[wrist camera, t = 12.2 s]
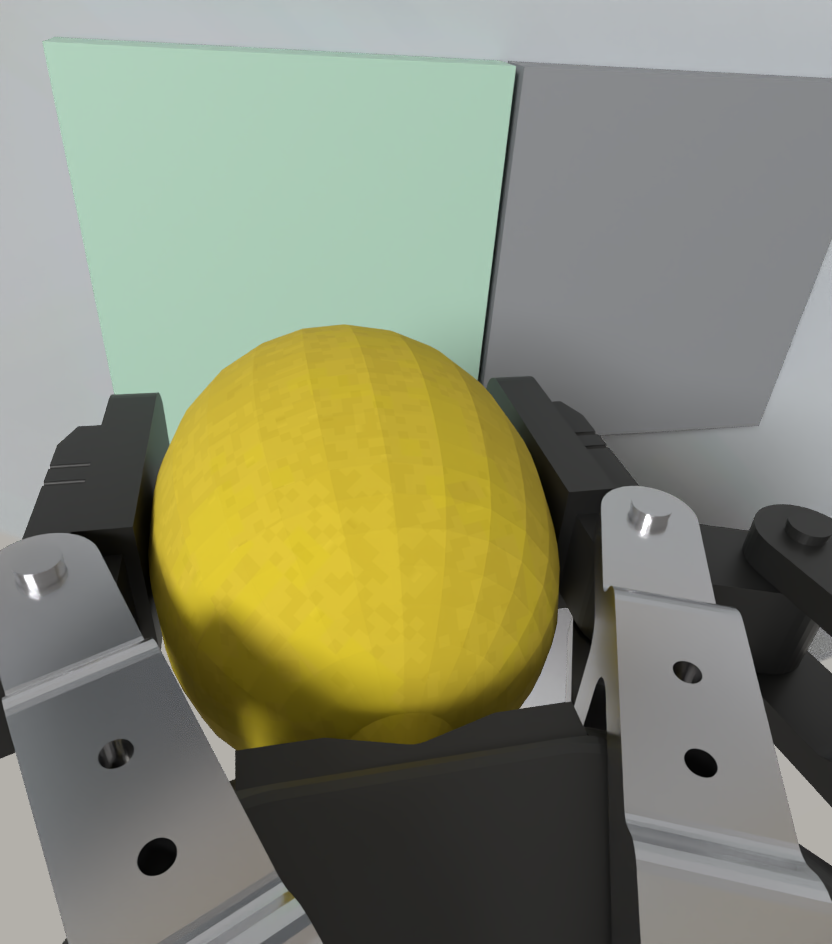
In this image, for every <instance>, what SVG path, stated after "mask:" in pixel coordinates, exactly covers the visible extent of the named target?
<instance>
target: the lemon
mask: <svg viewBox="0 0 832 944" xmlns="http://www.w3.org/2000/svg"><path fill="white" fill-rule="evenodd" d="M148 562H149V575H150V582H151V589H152V594H153V598H154V602H155V607H156V611H157V615H158V619H159V623H160V628H161V632H162V636H163V640H164V644H165V648H166V651H167V655H168V657H169V660H170V663H171V666H172V669H173V671H174V673H175V675H176V677H177V679H178V681H179V683H180V685H181V687H182V689H183V691H184V692H185V694H186V695H187V697H188V698H189V699H190V701H191V702H192V704H193V705H194V707H195V708H196V710H197V711H198V712H199V714H200V715H201V717H202V718H203V719H204V721H205V722H206V723H207V724H208V725H209V727H210V728H211V729H212V730H213V731H214V733H215V734H216V735H217V736H218V737H219V738H221V739H222V740H223V741H225V742H227V744H229V745H230V746H232V747H233V748H234V749H236V750H243V749H250V748H256V747H263V746H270V745H277V744H284V743H291V742H297V741H304V740H311V739H318V738H336V739H348V740H360V741H372V742H384V743H397V744H419V743H422V742H425V741H428V740H430V739H433V738H435V737H437V736H440V735H442V734H445V733H447V732H449V731H452V730H454V729H457V728H459V727H461V726H464V725H466V724H469V723H471V722H474V721H476V720H478V719H481V718H483V717H486V716H488V715H490V714H493V713H495V712H502V711H509V710H516V709H519V708H520V707H521V706H522V704H523V703H524V701H525V700H526V699H527V697H528V696H529V694H530V693H531V692H532V690H533V688H534V686H535V684H536V682H537V680H538V678H539V676H540V674H541V671H542V669H543V666H544V664H545V661H546V658H547V656H548V653H549V650H550V648H551V645H552V642H553V638H554V634H555V630H556V626H557V616H558V595H559V572H560V566H559V556H558V546H557V541H556V535H555V530H554V526H553V522H552V518H551V515H550V511H549V507H548V504H547V501H546V498H545V495H544V491H543V488H542V485H541V482H540V478H539V475H538V472H537V470H536V467H535V464H534V462H533V459H532V456H531V454H530V452H529V450H528V448H527V446H526V444H525V442H524V441H523V439H522V438H521V436H520V435H519V433H518V432H517V430H516V429H515V427H514V426H513V424H512V423H511V422H510V420H509V419H508V417H507V416H506V415H505V413H504V412H503V410H502V409H501V408H500V406H499V405H498V403H497V402H496V401H495V399H494V398H493V396H492V395H491V394H490V393H489V392H488V391H487V389H486V388H485V387H484V386H483V385H482V384H481V383H480V382H479V381H477V380H476V379H475V378H474V377H473V376H471V375H470V374H469V373H467V372H466V371H465V370H463V369H462V368H461V367H460V366H458V365H457V364H456V363H454V362H453V361H452V360H450V359H449V358H448V357H446V356H445V355H444V354H443V353H441V352H440V351H438V350H437V349H435V348H433V347H431V346H429V345H426V344H424V343H421V342H419V341H416V340H414V339H411V338H409V337H406V336H404V335H401V334H399V333H396V332H393V331H390V330H384V329H377V328H369V327H361V326H354V325H346V324H342V325H332V326H323V327H313V328H303V329H300V330H297V331H294V332H292V333H289V334H286V335H283V336H281V337H278V338H275V339H272V340H270V341H267V342H264V343H262V344H260V345H259V346H257V347H256V348H254V349H253V350H251V351H250V352H248V353H247V354H245V355H243V356H242V357H240V358H239V359H237V360H236V361H234V362H233V363H231V364H230V365H228V366H227V367H225V368H224V369H222V370H221V371H220V373H219V374H218V375H217V376H216V377H215V378H214V379H213V380H212V382H211V383H210V384H209V385H208V386H207V387H206V388H205V389H204V391H203V392H202V393H201V394H200V395H199V396H198V397H197V398H196V400H195V401H194V402H193V403H192V404H191V406H190V407H189V408H188V409H187V410H186V412H185V414H184V416H183V418H182V420H181V422H180V424H179V426H178V428H177V430H176V432H175V435H174V437H173V439H172V441H171V443H170V445H169V448H168V450H167V452H166V454H165V456H164V459H163V461H162V463H161V466H160V469H159V472H158V475H157V479H156V484H155V489H154V495H153V504H152V513H151V522H150V533H149V547H148Z"/></svg>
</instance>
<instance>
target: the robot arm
mask: <svg viewBox="0 0 832 944" xmlns="http://www.w3.org/2000/svg"><path fill="white" fill-rule="evenodd" d="M486 389H487V391H488V392H489V393H490V394H491V395H492V396H493V398H494V399H495V401H496V402H497V403H498V405H499V406H500V408H501V409H502V410H503V412H504V413H505V415H506V416H507V417H508V419H509V420H510V422H511V423H512V424H513V426H514V427H515V429H516V430H517V432H518V433H519V435H520V436H521V438H522V439H523V441H524V442H525V444H526V446H527V448H528V450H529V452H530V454H531V456H532V459H533V462H534V464H535V467H536V470H537V472H538V475H539V478H540V482H541V485H542V488H543V491H544V495H545V498H546V501H547V504H548V507H549V511H550V515H551V518H552V522H553V526H554V530H555V535H556V541H557V546H558V556H559V566H560V572H559V595H558V609H560V608H568V609H569V611H570V612H571V614H572V619H571V623H570V626H569V630H568V636H567V665H566V696H565V702H564V703H557V704H550V705H543V706H536V707H530V708H523V709H516V710H509V711H502V712H495V713H493V714H490V715H488V716H486V717H483V718H481V719H478V720H476V721H474V722H471V723H469V724H466V725H464V726H461V727H459V728H457V729H454V730H452V731H449V732H447V733H445V734H442V735H440V736H437V737H435V738H433V739H430V740H428V741H425V742H422V743H419V744H397V743H384V742H372V741H360V740H348V739H336V738H318V739H311V740H304V741H297V742H291V743H284V744H277V745H270V746H263V747H256V748H250V749H243V750H236V751H235V757H236V759H235V761H236V762H235V766H236V767H235V769H236V771H235V776H236V778H235V780H232V781H229V780H228V778H227V776H226V774H225V773H224V771H223V769H222V767H221V765H220V763H219V761H218V759H217V757H216V755H215V753H214V751H213V750H212V748H211V746H210V744H209V742H208V740H207V738H206V736H205V734H204V732H203V730H202V729H201V727H200V725H199V723H198V721H197V719H196V717H195V715H194V713H193V711H192V709H191V707H190V706H189V704H188V702H187V700H186V698H185V696H184V694H183V692H182V690H181V688H180V686H179V684H178V683H177V681H176V679H175V677H174V675H173V673H172V671H171V669H170V667H169V665H168V663H167V661H166V660H165V658H164V656H163V654H162V652H161V643H162V632H161V628H160V623H159V619H158V615H157V611H156V607H155V602H154V598H153V594H152V589H151V582H150V575H149V562H148V547H149V533H150V522H151V513H152V504H153V495H154V489H155V484H156V479H157V475H158V472H159V469H160V466H161V463H162V461H163V459H164V456H165V454H166V452H167V450H168V448H169V445H170V444H169V438H168V432H167V425H166V419H165V413H164V408H163V402H162V398H161V395H160V393H159V392H157V393H136V394H114V395H111V396H110V398H109V401H108V404H107V408H106V411H105V415H104V418H103V422H102V425H97V426H79V427H77V428H76V429H75V430H74V431H73V432H72V433H70V434H69V435H68V436H67V437H66V438H65V439H64V440H62V441H61V442H60V443H59V444H58V445H57V448H56V450H55V453H54V456H53V458H52V461H51V464H50V469H48V472H47V474H46V477H45V480H44V486H42V488H41V490H40V493H39V496H38V498H37V501H36V504H35V506H34V509H33V512H32V514H31V517H30V520H29V522H28V525H27V528H26V531H25V533H24V536H23V539H22V540H20V541H17V542H15V543H13V544H11V545H9V546H7V547H5V548H4V549H2V550H0V758H3V757H5V756H8V755H10V754H13V753H15V752H16V756H17V759H18V763H19V766H20V770H21V774H22V777H23V781H24V785H25V788H26V792H27V795H28V799H29V802H30V806H31V810H32V814H33V817H34V821H35V824H36V828H37V831H38V835H39V839H40V842H41V846H42V850H43V853H44V857H45V860H46V864H47V868H48V871H49V875H50V878H51V882H52V886H53V889H54V893H55V897H56V900H57V904H58V907H59V911H60V915H61V919H62V922H63V926H64V929H65V933H66V937H67V938H66V939H65V941H64V942H63V944H832V866H831V865H830V864H828V863H827V862H825V861H824V860H822V859H821V858H819V857H818V856H816V855H815V854H813V853H812V852H810V851H809V850H807V849H806V848H804V847H803V846H801V845H800V844H798V840H797V836H796V832H795V829H794V824H793V820H792V816H791V813H790V808H789V804H788V800H787V796H786V792H785V788H784V784H783V780H782V776H781V772H780V768H779V764H778V760H777V756H776V752H775V748H774V745H775V746H776V747H777V748H778V749H779V750H780V751H781V752H782V753H783V754H784V756H785V757H786V758H787V759H788V760H789V761H790V762H791V763H792V764H793V765H794V766H795V768H796V769H797V770H798V771H799V772H800V773H801V774H802V775H803V776H804V777H805V778H806V780H808V782H809V783H810V784H811V785H812V786H813V787H814V788H815V789H816V791H817V792H818V793H819V794H820V795H821V796H822V797H823V798H824V799H825V800H826V801H827V803H828V804H829V805H830V806H831V807H832V673H831V672H830V671H829V670H828V669H826V668H825V667H824V666H823V665H822V664H821V663H820V662H819V661H818V660H817V659H816V658H814V657H813V656H812V655H811V654H810V653H809V652H808V651H807V650H808V648H809V646H810V644H811V642H812V640H813V639H814V637H815V635H816V633H817V631H818V629H819V628H820V627H821V628H822V629H823V630H824V631H826V632H827V633H828V634H829V635H830V636H831V637H832V519H831V518H829V517H828V516H826V515H824V514H821V513H819V512H817V511H814V510H811V509H808V508H804V507H800V506H794V505H785V504H779V505H770V506H767V507H764V508H762V509H761V510H759V511H758V512H757V513H756V515H755V518H754V520H753V522H752V525H751V527H750V530H749V531H746V530H738V529H731V528H723V527H715V526H708V525H702V524H699V522H698V519H697V516H696V515H695V513H694V511H693V510H692V509H691V508H690V507H689V506H688V505H687V504H686V503H684V502H683V501H681V500H680V499H678V498H677V497H675V496H673V495H671V494H669V493H666V492H664V491H661V490H658V489H654V488H650V487H643V486H639V485H638V484H637V483H636V482H635V480H634V479H633V478H632V477H631V475H630V474H629V473H628V471H627V470H626V469H625V468H624V466H623V465H622V464H621V463H620V461H619V460H618V459H617V458H616V456H615V455H614V454H613V453H612V451H611V450H610V449H609V448H606V444H605V442H604V441H603V440H602V439H601V437H600V436H599V435H598V434H596V433H595V432H596V431H595V430H594V428H593V427H592V426H591V425H590V423H589V422H588V421H587V420H586V418H585V417H584V416H583V415H582V414H581V413H579V412H577V411H576V410H574V409H573V408H571V407H569V406H568V405H566V404H564V403H563V402H561V401H554V402H552V401H551V400H550V398H549V397H548V396H547V394H546V393H545V392H544V390H543V389H542V388H541V386H540V385H539V384H538V382H537V381H536V380H535V378H534V377H532V376H520V377H498V378H491V379H490V380H489V382H488V384H487V387H486ZM773 743H774V744H773Z"/></svg>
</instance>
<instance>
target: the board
mask: <svg viewBox="0 0 832 944" xmlns="http://www.w3.org/2000/svg"><path fill="white" fill-rule="evenodd" d="M42 42H43V47H44V52H45V57H46V62H47V67H48V71H49V76H50V81H51V86H52V91H53V96H54V101H55V106H56V111H57V115H58V120H59V125H60V130H61V135H62V140H63V145H64V150H65V155H66V160H67V164H68V169H69V174H70V179H71V184H72V189H73V194H74V199H75V204H76V208H77V213H78V218H79V223H80V228H81V233H82V238H83V243H84V248H85V253H86V257H87V262H88V267H89V272H90V277H91V282H92V287H93V292H94V297H95V301H96V306H97V311H98V316H99V321H100V326H101V331H102V336H103V341H104V346H105V350H106V355H107V360H108V365H109V370H110V375H111V380H112V385H113V390H114V394H136V393H157V392H159V393H160V395H161V398H162V402H163V408H164V413H165V419H166V425H167V432H168V438H169V444H170V443H171V441H172V439H173V437H174V435H175V432H176V430H177V428H178V426H179V424H180V422H181V420H182V418H183V416H184V414H185V412H186V410H187V409H188V408H189V407H190V406H191V404H192V403H193V402H194V401H195V400H196V398H197V397H198V396H199V395H200V394H201V393H202V392H203V391H204V389H205V388H206V387H207V386H208V385H209V384H210V383H211V382H212V380H213V379H214V378H215V377H216V376H217V375H218V374H219V373H220V371H221V370H222V369H224V368H225V367H227V366H228V365H230V364H231V363H233V362H234V361H236V360H237V359H239V358H240V357H242V356H243V355H245V354H247V353H248V352H250V351H251V350H253V349H254V348H256V347H257V346H259V345H260V344H262V343H264V342H267V341H270V340H272V339H275V338H278V337H281V336H283V335H286V334H289V333H292V332H294V331H297V330H300V329H303V328H313V327H323V326H332V325H342V324H346V325H354V326H361V327H369V328H377V329H384V330H390V331H393V332H396V333H399V334H401V335H404V336H406V337H409V338H411V339H414V340H416V341H419V342H421V343H424V344H426V345H429V346H431V347H433V348H435V349H437V350H438V351H440V352H441V353H443V354H444V355H445V356H446V357H448V358H449V359H450V360H452V361H453V362H454V363H456V364H457V365H458V366H460V367H461V368H462V369H463V370H465V371H466V372H467V373H469V374H470V375H471V376H473V377H474V378H475V379H476V380H477V381H479V382H480V383H481V384H482V385H483V386H484V387H485V388H486V387H487V384H488V382H489V380H490V379H491V378H498V377H520V376H532V377H534V378H535V380H536V381H537V382H538V384H539V385H540V386H541V388H542V389H543V390H544V392H545V393H546V394H547V396H548V397H549V398H550V400H551V401H552V402H554V401H561V402H563V403H564V404H566V405H568V406H569V407H571V408H573V409H574V410H576V411H577V412H579V413H581V414H582V415H583V416H584V417H585V418H586V420H587V421H588V422H589V423H590V425H591V426H592V427H593V428H594V430H595V431H596V432H595V433H596V434H598V435H614V434H630V433H647V432H663V431H679V430H696V429H712V428H729V427H745V426H759V424H760V421H761V419H762V416H763V414H764V411H765V409H766V406H767V403H768V401H769V398H770V396H771V393H772V391H773V388H774V385H775V383H776V380H777V378H778V375H779V373H780V370H781V367H782V365H783V362H784V360H785V357H786V355H787V352H788V350H789V347H790V344H791V342H792V339H793V337H794V334H795V332H796V329H797V326H798V324H799V321H800V319H801V316H802V314H803V311H804V308H805V306H806V303H807V301H808V298H809V296H810V293H811V290H812V288H813V285H814V283H815V280H816V278H817V275H818V273H819V270H820V267H821V265H822V262H823V260H824V257H825V255H826V252H827V249H828V247H829V244H830V242H831V239H832V78H814V77H795V76H776V75H757V74H739V73H720V72H701V71H682V70H663V69H645V68H626V67H607V66H588V65H569V64H551V63H532V62H513V61H508V63H505V62H502V61H494V60H475V59H457V58H438V57H419V56H400V55H381V54H363V53H344V52H325V51H306V50H288V49H269V48H250V47H231V46H212V45H194V44H175V43H156V42H137V41H118V40H100V39H81V38H62V37H54V38H51V39H48V40H45V41H42Z"/></svg>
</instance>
